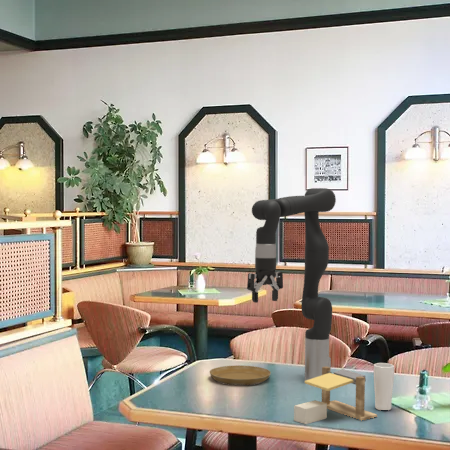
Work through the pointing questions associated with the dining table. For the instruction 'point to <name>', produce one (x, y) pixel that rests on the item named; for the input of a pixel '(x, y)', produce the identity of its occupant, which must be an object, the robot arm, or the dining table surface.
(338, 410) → the frame
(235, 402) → the dining table surface
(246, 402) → the dining table surface
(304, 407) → the white square pillar
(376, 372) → the drinking glass
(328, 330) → the robot arm
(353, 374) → the trapdoor
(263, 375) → the plant saucer
